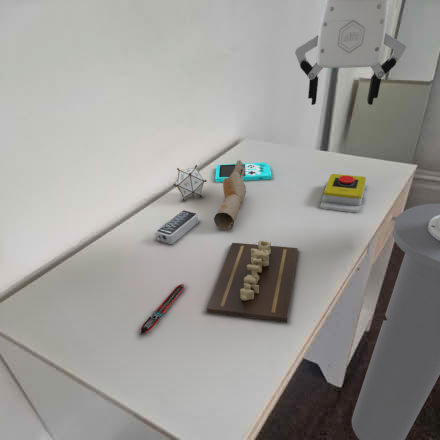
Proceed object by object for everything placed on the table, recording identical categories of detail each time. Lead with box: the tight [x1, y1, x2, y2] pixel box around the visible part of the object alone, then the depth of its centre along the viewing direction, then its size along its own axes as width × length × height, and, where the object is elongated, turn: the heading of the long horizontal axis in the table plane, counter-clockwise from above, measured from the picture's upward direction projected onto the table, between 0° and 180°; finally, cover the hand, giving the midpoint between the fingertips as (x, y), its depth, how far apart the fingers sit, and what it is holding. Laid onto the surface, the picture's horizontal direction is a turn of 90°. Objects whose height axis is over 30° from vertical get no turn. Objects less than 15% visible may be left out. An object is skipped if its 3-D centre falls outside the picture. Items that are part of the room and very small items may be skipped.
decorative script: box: [240, 240, 272, 301], centre depth 70 cm, size 17×4×3 cm, turn 166°
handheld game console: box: [214, 161, 272, 183], centre depth 108 cm, size 10×16×1 cm, turn 89°
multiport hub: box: [155, 209, 199, 245], centre depth 86 cm, size 4×11×2 cm, turn 148°
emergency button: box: [319, 173, 367, 214], centre depth 93 cm, size 9×4×15 cm
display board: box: [206, 242, 299, 323], centre depth 71 cm, size 14×21×1 cm, turn 166°
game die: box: [172, 164, 208, 202], centre depth 97 cm, size 9×8×10 cm
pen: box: [140, 283, 185, 335], centre depth 67 cm, size 2×14×1 cm, turn 154°
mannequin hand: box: [213, 159, 247, 231], centre depth 93 cm, size 7×7×25 cm
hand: (341, 102), depth 66 cm, fingers open, 9 cm apart
